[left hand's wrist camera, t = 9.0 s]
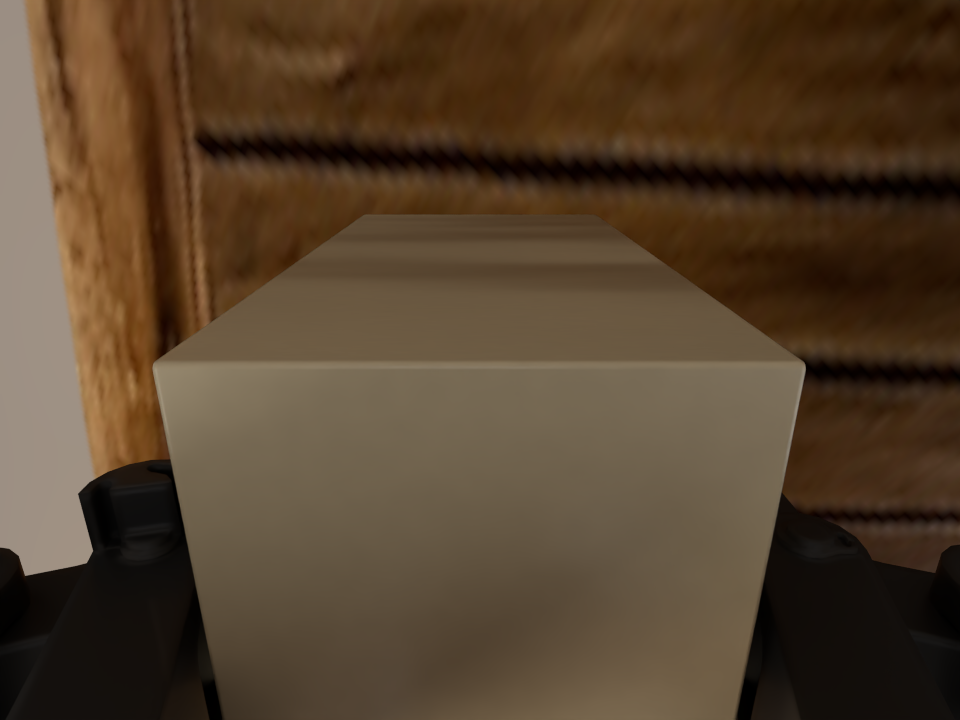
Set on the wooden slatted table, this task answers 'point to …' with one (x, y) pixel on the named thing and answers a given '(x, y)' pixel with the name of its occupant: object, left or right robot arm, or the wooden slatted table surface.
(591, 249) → the ash bar
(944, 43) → the wooden slatted table surface
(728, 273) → the wooden slatted table surface
